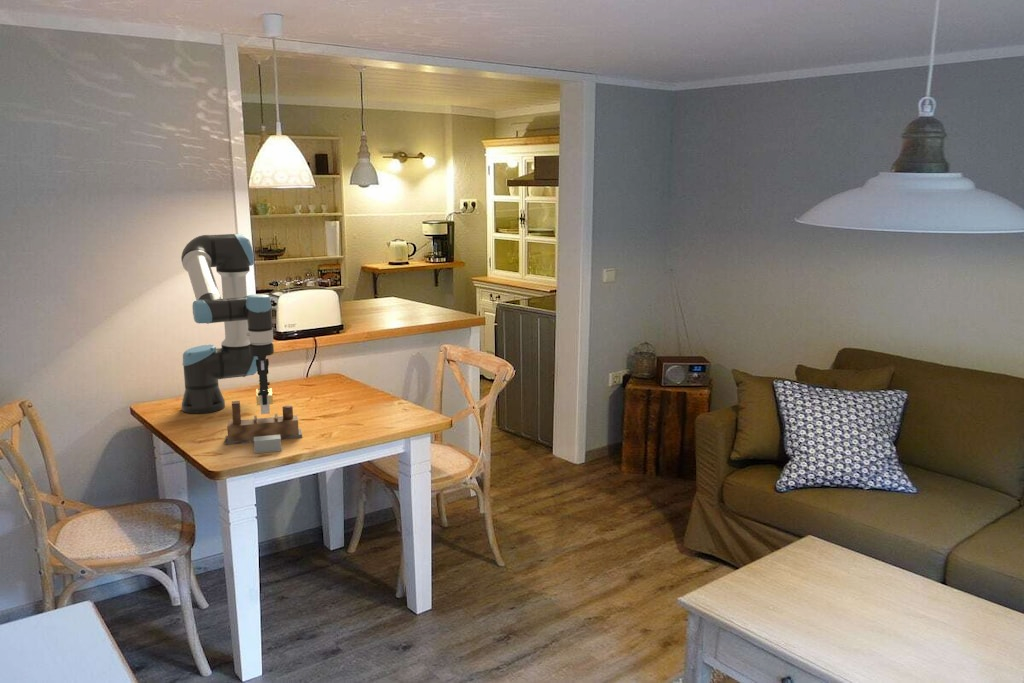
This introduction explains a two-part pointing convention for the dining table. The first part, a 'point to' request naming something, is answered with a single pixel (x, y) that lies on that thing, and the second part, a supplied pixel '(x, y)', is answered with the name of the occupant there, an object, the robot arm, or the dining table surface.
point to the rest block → (267, 443)
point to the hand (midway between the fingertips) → (265, 409)
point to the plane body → (261, 426)
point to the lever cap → (268, 393)
